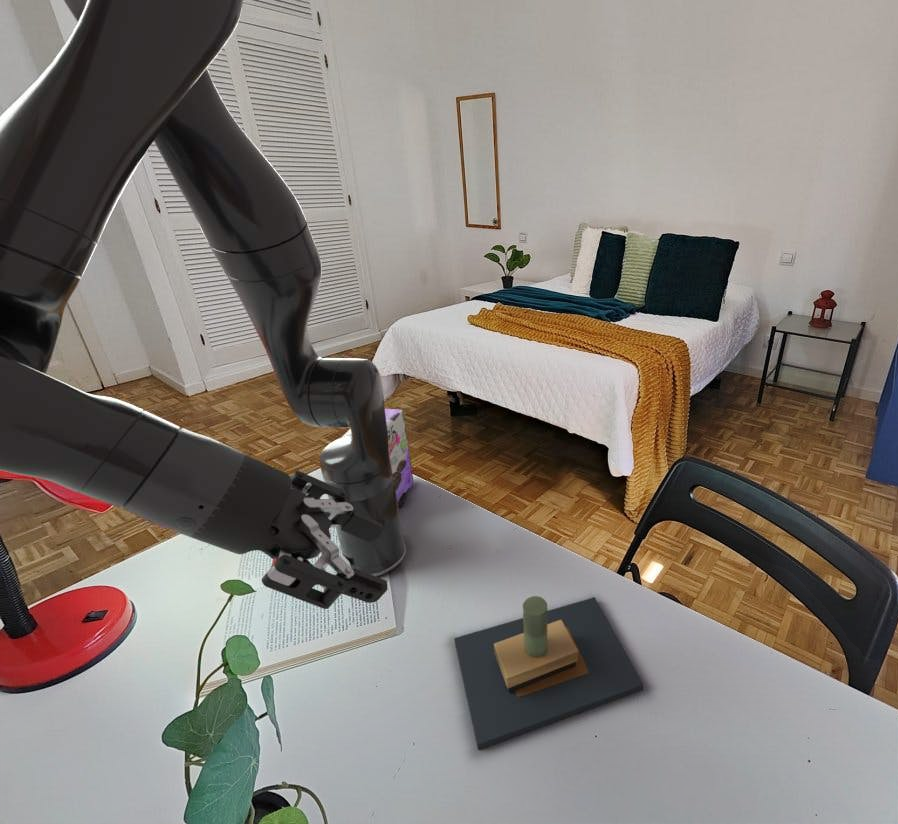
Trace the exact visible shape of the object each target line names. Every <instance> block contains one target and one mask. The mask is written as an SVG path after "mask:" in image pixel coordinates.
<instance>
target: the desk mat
mask: <svg viewBox="0 0 898 824" xmlns="http://www.w3.org/2000/svg"><path fill="white" fill-rule="evenodd" d="M558 620H562V622H563V624H564V626H565V627H566V629H567V631H568V633H569V635H570V637H571V638H572V640H573V642H574V644H575V646H576V648H577V649H578V661H576V666H575V667H573V668H571V669H568V670H566V671H563V672H561V673H558V674H556V675H553V676H551V677H548V678H546V679H543V680H541V681H538V682H536V683H533V684H531V685H528V686H526V687H523V688H521V689H518V690H516V691H513V692H511V693H509V692H508V689H507V686H506V684H505V681H504V678H503V675H502V673H501V670H500V667H499V665H498V662H497V659H496V656H495V653H494V643H497V642H500V641H503V640H506V639H508V638H511V637H514V636H517V635H519V634H522V633H524V629H523V617H522V618H518V619H515V620H511V621H508V622H505V623H502V624H498V625H494V626H490V627H487V628H484V629H481V630H478V631H473V632H471V633H466V634H463V635H459V636H457V637H454V638H453V640H454V646H455V650H456V656H457V660H458V665H459V669H460V674H461V679H462V684H463V688H464V693H465V696H466V702H467V707H468V710H469V715H470V721H471V726H472V729H473V734H474V738H475V742H476V748H477V750H482V749H485V748H487V747H490V746H492V745H495V744H499V743H501V742H504V741H506V740H509V739H512V738H514V737H517V736H520V735H523V734H525V733H526V734H527V733H528V732H531V731H534V730H536V729H539V728H541V727H544V726H547V725H550V724H553V723H556V722H558V721H561V720H564V719H566V718H569V717H572V716H575V715H577V714H581V713H583V712H585V711H588V710H591V709H593V708H596V707H599V706H602V705H605V704H607V703H611V702H612V701H616V700H618V699H621V698H623V697H627V696H629V695H632V694H634V693H637V692H640V691H643V690H644V685H645V684H644V683H643V681H642V679H641V677H640V675H639V674H638V672H637V670H636V668H635V667H634V665H633V663H632V661H631V660H630V659H631V658H630V657H629V656H628V654H627V652H626V650H625V649H624V647H623V645H622V643H621V641H620V639H619V638H618V636H617V634H616V632H615V631H614V629H613V627H612V625H611V624H610V622H609V619H608V618H607V616H606V615H605V613H604V611H603V610H602V607H601V606H600V604H599V602H598V600H597V598H596V597H594V596H593V597H589V598H587V599H583V600H580V601H577V602H573V603H569V604H566V605H563V606H559V607H556V608H553V609H549V610H547V624H550V623H553V622H556V621H558Z"/></svg>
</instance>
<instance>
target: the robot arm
mask: <svg viewBox="0 0 898 824" xmlns="http://www.w3.org/2000/svg"><path fill="white" fill-rule="evenodd" d="M63 2H64V3H65V6H66V7H67V8H68V10H69V11H70V13H71V14H72V16H73V17H74V19H75V20H76V24H75V26H74V27H73V30H72V31H71V33H70V35H69V36H68V38H67V40H66V41H65V43H64V44H63V46H62V47H61V48H60V50H59V51H58V53H57V54H56V55H55V57H54V58H53V59H52V60H51V62H50V63H49V65H48V66H47V67H46V68H45V69H44V70H43V71H42V72H41V73H40V74H39V75H38V76H37V78H36V79H34V81H32V83H30V84H29V86H28V87H26V88H25V89H24V90H23V91H22V92H21V93H20V94H19V95H18V96H17V97H16V98H15V99H14V100H13V101H12V102H11V103H9V105H8V106H7V107H6V108H5V109H3V110H2V112H0V471H1V472H6V473H11V474H15V475H21V476H26V477H31V478H36V479H40V480H45V481H49V482H51V483H54V484H56V485H59V486H61V487H63V488H65V489H68V490H70V491H72V492H75V493H77V494H80V495H83V496H86V497H89V498H91V499H93V500H97V501H99V502H102V503H106V504H108V505H111V506H113V507H116V508H119V509H120V508H122V510H123V511H126V512H129V513H130V514H133V515H135V516H137V517H139V518H141V519H142V520H144V521H146V522H149V523H150V524H153V525H155V526H158V527H161V528H163V529H167V530H169V531H171V532H174V533H177V534H180V535H183V536H186V537H188V538H191V539H194V540H197V541H199V542H202V543H206V544H208V545H211V546H214V547H217V548H220V549H222V550H224V551H228V552H230V553H233V554H236V555H245V554H247V553H249V552H254V551H260V552H262V553H264V554H265V555H267V557H269V558H271V560H272V562H271V566H270V568H269V570H268V571H267V572H266V573H265V574H264V575H263V577H262V578H261V584H262V585H263V586H265V587H266V588H268V589H271V590H273V591H277V592H279V593H281V594H284V595H286V596H288V597H289V596H290V597H292V598H294V599H297V600H300V601H302V602H305V603H306V604H310V605H313V606H315V607H318V608H320V609H323V610H328V609H329V608H331V606H332V605H333V604H334V603H335V602H336V601H337V600H338V599H339V597H340V596H341V595H344V596H346V597H347V596H348V597H350V598H353V599H356V600H359V601H362V602H364V603H367V604H372V603H376V602H378V601H379V600H380V599H381V598H382V596H384V595H385V594H386V592H387V591H388V589H389V588H388V581H387V580H386V579H383V578H381V577H380V576H383V575H386V574H388V573H390V572H392V571H393V570H395V569H396V568H398V566H400V564H401V563H402V562H403V561H404V559H405V558H406V554H407V546H406V542H405V538H404V532H403V525H402V520H401V514H400V509H399V508H400V507H402V506H403V505H404V504H405V501H406V499H407V496H408V492H407V493H405V492H404V493H403V494H402V496H401V499H400V501H399V502H397V496H396V490H395V485H394V479H393V474H392V468H391V462H390V456H389V446H388V429H387V423H386V415H385V408H386V407H385V395H384V387H383V382H382V377H381V374H380V371H379V369H378V368H377V365H375V363H374V362H373V361H372V360H370V359H366V358H354V357H353V358H351V357H350V358H348V357H347V358H346V357H345V358H343V357H342V358H340V357H321V356H320V355H319V354H318V353H317V352H316V350H315V348H314V346H313V345H312V342H311V339H310V336H309V331H308V325H309V320H310V317H311V313H312V310H313V307H314V305H315V302H316V299H317V296H318V293H319V289H320V286H321V281H322V272H323V265H322V260H321V256H320V253H319V251H318V248H317V244H316V242H315V240H314V238H313V235H312V232H311V229H310V226H309V224H308V222H307V218H306V216H305V213H304V211H303V209H302V207H301V205H300V203H299V201H298V199H297V198H296V196H295V195H294V192H293V191H292V190H291V189H290V186H288V185H287V182H285V180H284V179H283V178H282V176H281V175H280V174H279V173H278V171H277V170H276V169H275V168H274V166H273V165H272V164H271V162H269V160H268V159H267V158H266V156H265V155H264V154H263V153H262V152H261V151H260V149H259V148H258V147H257V146H256V144H255V143H254V142H252V140H251V138H249V136H248V135H247V134H246V132H245V131H244V129H242V127H241V126H240V125H239V124H238V122H237V121H236V120H235V118H234V117H233V115H232V113H231V112H230V111H229V109H228V108H227V105H226V104H225V102H224V100H223V98H222V97H221V95H220V93H219V91H218V89H217V87H216V85H215V83H214V81H213V78H212V76H211V73H210V72H209V69H208V67H209V66H210V65H211V64H212V63H213V61H214V60H215V59H216V57H217V56H218V55H219V53H220V52H221V51H222V49H223V48H224V47H225V46H226V44H227V43H228V41H229V39H231V37H232V35H233V34H234V32H235V30H236V28H237V26H238V24H239V21H240V19H241V15H242V12H243V6H244V0H63ZM153 143H154V145H155V146H156V148H157V150H158V152H159V154H160V156H161V157H162V159H163V162H164V163H165V165H166V167H167V169H168V171H169V173H170V174H171V176H172V178H173V180H174V182H175V183H176V185H177V187H178V189H179V190H180V192H181V194H182V196H183V197H184V199H185V201H186V203H187V205H188V206H189V209H190V210H191V212H192V214H193V215H194V217H195V219H196V221H197V223H198V225H199V227H200V229H201V231H202V235H203V236H204V238H205V240H206V242H207V244H208V246H209V248H210V250H211V251H212V253H213V255H214V256H215V258H216V260H217V262H218V264H219V266H220V268H221V270H222V271H223V273H224V274H225V277H226V278H227V280H228V281H229V284H230V285H231V287H232V288H233V290H234V292H235V293H236V295H237V297H238V298H239V300H240V302H241V304H242V306H243V308H244V310H245V312H246V314H247V315H248V318H249V320H250V322H251V323H252V325H253V328H254V329H255V331H256V333H257V335H258V337H259V339H260V342H261V343H262V346H263V348H264V350H265V353H266V354H267V357H268V359H269V362H270V363H271V367H272V369H273V373H274V375H275V377H276V379H277V382H278V384H279V386H280V390H281V392H282V394H283V397H284V399H285V402H286V403H287V405H288V407H289V409H290V411H291V412H292V414H293V416H295V418H296V419H297V420H298V421H299V422H300V423H302V424H303V425H306V426H309V427H314V428H328V429H329V428H330V429H335V428H336V429H337V428H338V429H351V432H352V434H349V435H347V436H344V437H341V436H340V437H341V438H340V437H339V438H337V439H335V440H333V441H331V442H330V443H328V444H327V445H326V446H325V447H323V449H322V450H321V451H320V454H319V459H318V462H319V466H320V471H321V475H322V479H323V480H320V479H319V478H316V477H314V476H312V475H309V474H307V473H305V472H303V471H300V470H295V472H294V473H293V474H292V475H291V476H290V474H288V473H287V472H284V471H282V470H280V469H278V468H276V467H274V466H272V465H270V464H268V463H266V462H263V461H262V460H259V459H257V458H255V457H253V456H251V455H249V454H247V453H245V452H242V451H240V450H238V449H236V448H234V447H231V446H229V445H227V444H226V443H223V442H221V441H219V440H217V439H215V438H212V437H209V436H206V435H203V434H200V433H197V432H194V431H191V430H189V429H186V428H184V427H180V425H178V424H175V423H173V422H171V421H168V420H166V419H164V418H162V417H160V416H157V415H155V414H153V413H151V412H149V411H147V410H144V409H143V408H141V407H138V406H136V405H134V404H131V403H129V402H126V401H124V400H120V399H117V398H114V397H112V396H111V397H110V396H104V395H97V394H92V393H88V392H85V391H83V390H81V389H79V388H77V387H74V386H72V385H70V384H68V383H66V382H63V381H61V380H59V379H57V378H55V377H53V376H50V375H48V374H47V372H48V370H49V367H50V363H51V360H52V357H53V354H54V351H55V347H56V343H57V341H58V340H57V339H58V336H59V333H60V331H61V326H62V321H63V317H64V312H65V309H66V307H67V304H68V303H69V300H70V298H71V297H72V296H73V294H74V292H75V290H76V289H77V288H78V286H79V284H80V282H81V277H83V276H84V273H85V272H86V269H87V267H88V265H89V263H90V261H91V259H92V257H93V254H94V252H95V250H96V248H97V246H98V244H99V241H100V239H101V236H102V235H103V233H104V230H105V228H106V225H107V224H108V221H109V219H110V217H111V215H112V213H113V211H114V209H115V207H116V205H117V203H118V201H119V199H120V198H121V195H122V194H123V192H124V190H125V188H126V186H128V185H127V184H129V181H130V179H131V178H132V176H133V175H134V174H135V171H136V170H137V168H138V166H139V164H140V163H141V162H142V159H143V158H144V156H145V155H146V154H147V152H148V151H149V149H150V147H151V146H152V144H153ZM323 495H327V498H322V497H323ZM333 528H335V530H336V534H337V539H338V543H339V546H337V545H336V543H334V542H333V540H331V537H332V535H331V532H330V529H333ZM339 547H340V548H339ZM340 550H341V551H340ZM319 555H320V556H319ZM318 556H319V558H318V559H317V560H316V561H315V563H314V564H313V563H312V562H310V561H309V560H311V559H315V558H317V557H318ZM328 566H330V568H332V569H333V570H334V571H335V572H336V573H335V574H333V573H331V572H328V571H327V570H326V569H327V567H328ZM318 585H319V586H320V587H321V588H322V589H323V591H321V590H318V589H316V588H314V587H315V586H318Z"/></svg>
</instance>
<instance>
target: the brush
mask: <svg viewBox="0 0 898 824" xmlns="http://www.w3.org/2000/svg"><path fill="white" fill-rule="evenodd" d="M547 611H548V603H547V601H546V600H545V598H543V597H542V596H537V595H533V596H530V597H527V598H526V599H525V600H524V601H523V603H522V618H523V629H524V633H522V634H519V635H517V636H514V637H511V638H508V639H506V640H503V641H500V642H497V643H494V653H495V656H496V659H497V662H498V665H499V667H500V670H501V673H502V675H503V678H504V681H505V684H506V686H507V689H508V692H509V693H511V692H513V691H516V690H518V689H521V688H523V687H526V686H528V685H531V684H533V683H536V682H538V681H541V680H543V679H546V678H548V677H551V676H553V675H556V674H558V673H561V672H563V671H566V670H568V669H571V668H573V667H575V666H576V661H578V649H577V648H576V646H575V644H574V642H573V640H572V638H571V637H570V635H569V633H568V631H567V629H566V627H565V626H564V624H563V622H562V620H558V621H556V622H553V623H550V624H547Z"/></svg>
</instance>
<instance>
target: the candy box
mask: <svg viewBox="0 0 898 824" xmlns="http://www.w3.org/2000/svg"><path fill="white" fill-rule="evenodd" d="M385 415H386V423H387V429H388V446H389V456H390V462H391V468H392V474H393V479H394V485H395V490H396V496H397V502H399V501H400V499H401V496H402V494H403V493H404V492H405V493H407V494H408V492H409V491H410V489H411V488H412V487H413V485H414V484H415V481H414V474H413V468H412V461H411V455H410V449H409V442H408V435H407V429H406V423H405V415H404V410H403V409H398V408H397V409H396V408H395V409H394V408H386V407H385ZM349 434H352V432H351V429H350V428H348V430H347V431H346V432H345V433H343V434H342V435H341V436H340V437H339V438H341V437H344V436H347V435H349Z"/></svg>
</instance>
